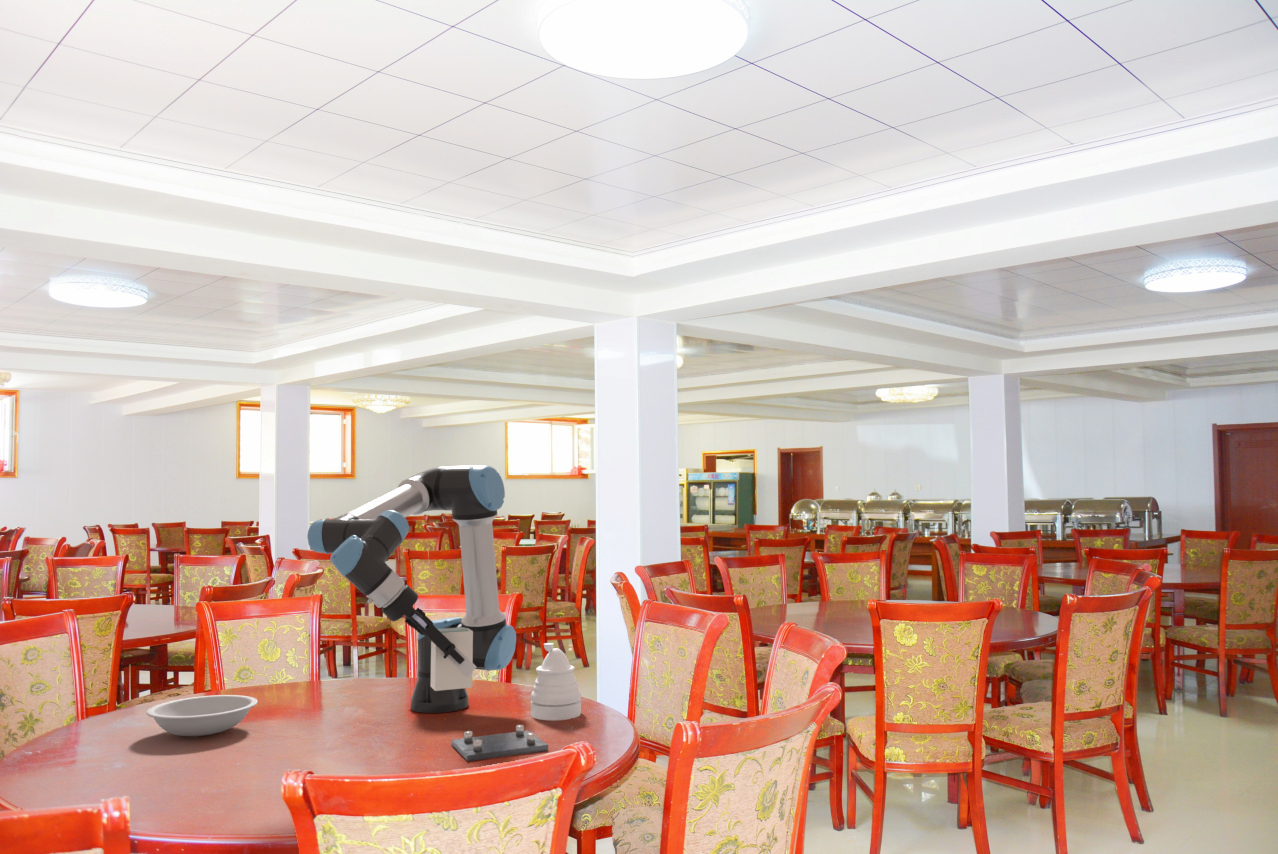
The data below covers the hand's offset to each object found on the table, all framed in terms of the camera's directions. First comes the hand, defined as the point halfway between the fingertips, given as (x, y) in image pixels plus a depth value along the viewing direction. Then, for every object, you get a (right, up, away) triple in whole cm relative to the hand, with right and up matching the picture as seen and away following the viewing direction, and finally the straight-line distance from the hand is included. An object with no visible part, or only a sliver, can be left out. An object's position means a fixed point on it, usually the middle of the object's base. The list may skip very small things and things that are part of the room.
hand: (468, 668), depth 194 cm
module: (-3, -3, -2) cm, 5 cm away
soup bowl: (-67, -21, +18) cm, 73 cm away
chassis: (+6, -18, +3) cm, 20 cm away
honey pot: (+16, -21, +34) cm, 43 cm away
